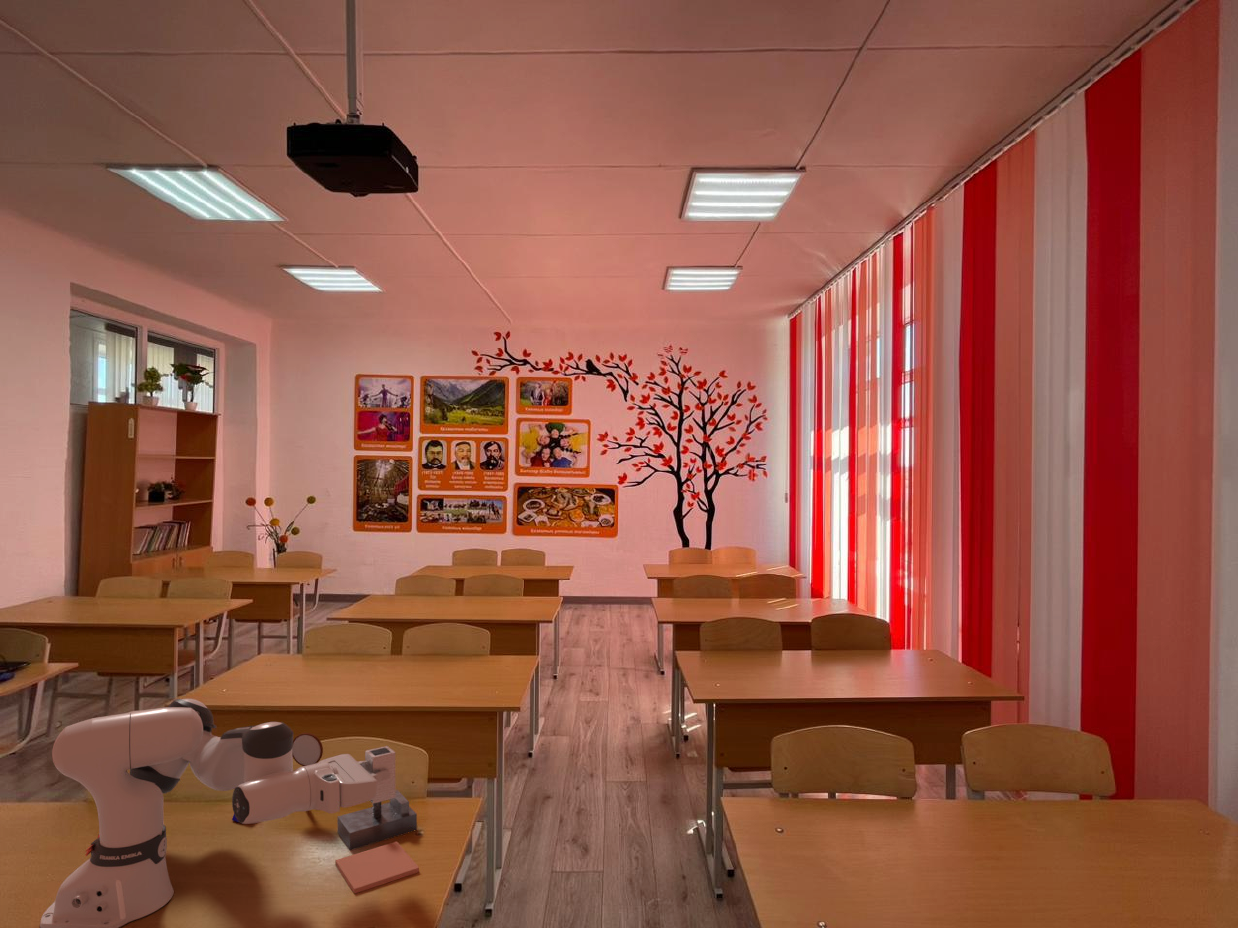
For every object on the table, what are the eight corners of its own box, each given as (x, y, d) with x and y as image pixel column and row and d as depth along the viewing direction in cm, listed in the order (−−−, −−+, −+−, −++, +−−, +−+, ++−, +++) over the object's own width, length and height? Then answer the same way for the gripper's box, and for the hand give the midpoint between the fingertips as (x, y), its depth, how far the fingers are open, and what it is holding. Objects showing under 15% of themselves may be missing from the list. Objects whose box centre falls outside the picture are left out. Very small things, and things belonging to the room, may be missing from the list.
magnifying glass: (290, 810, 197) (289, 733, 197) (294, 807, 198) (293, 730, 198) (321, 812, 195) (320, 734, 195) (324, 809, 197) (324, 732, 197)
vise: (350, 850, 177) (349, 794, 177) (337, 832, 185) (337, 779, 185) (416, 829, 186) (416, 776, 186) (402, 814, 194) (401, 763, 194)
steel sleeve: (372, 803, 166) (372, 757, 166) (365, 795, 170) (365, 750, 170) (395, 797, 169) (395, 752, 169) (387, 790, 173) (387, 745, 173)
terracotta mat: (354, 893, 159) (354, 888, 159) (335, 864, 171) (335, 859, 171) (419, 871, 167) (419, 867, 167) (396, 845, 179) (396, 841, 179)
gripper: (306, 783, 170) (368, 768, 178) (334, 816, 154) (400, 798, 162) (306, 755, 170) (368, 741, 178) (333, 785, 154) (400, 768, 162)
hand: (383, 768), depth 170 cm, fingers closed on steel sleeve, 5 cm apart
